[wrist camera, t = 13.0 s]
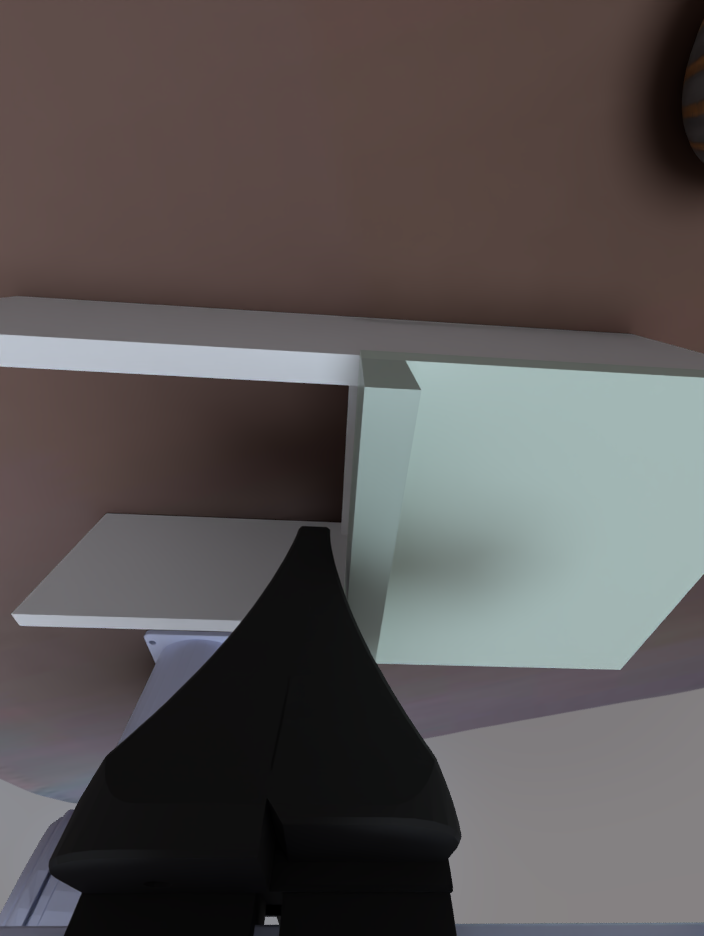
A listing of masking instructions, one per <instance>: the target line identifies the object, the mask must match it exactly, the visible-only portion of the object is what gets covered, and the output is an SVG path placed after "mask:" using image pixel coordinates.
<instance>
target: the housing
mask: <svg viewBox="0 0 704 936" xmlns="http://www.w3.org/2000/svg"><path fill="white" fill-rule="evenodd" d="M360 350H372V351H389V352H407V353H424V354H441V355H458V356H475V357H492V358H509V359H526V360H544V361H561V362H578V363H595V364H612V365H629V366H646V367H663V368H681V369H698V370H704V354H703V353H699V352H696V351H692V350H689V349H685V348H681V347H678V346H674V345H670V344H667V343H663V342H659V341H656V340H652V339H648V338H645V337H641V336H637V335H634V334H624V333H608V332H591V331H575V330H559V329H543V328H527V327H511V326H494V325H478V324H462V323H446V322H430V321H414V320H397V319H381V318H365V317H349V316H333V315H317V314H300V313H284V312H268V311H252V310H236V309H220V308H203V307H187V306H171V305H155V304H139V303H123V302H106V301H90V300H74V299H58V298H42V297H25V296H13V297H5V298H0V366H3V367H21V368H40V369H58V370H76V371H95V372H113V373H131V374H150V375H168V376H186V377H205V378H223V379H242V380H260V381H278V382H297V383H315V384H333V385H349V393H348V411H347V429H346V448H345V466H344V484H343V503H342V521H341V523H338V522H313V521H288V520H263V519H238V518H213V517H188V516H163V515H138V514H113V513H106V514H105V515H104V516H103V517H102V518H101V519H100V521H99V522H98V523H97V524H96V525H95V526H94V527H93V528H92V529H91V530H90V531H89V532H88V533H87V534H86V535H85V536H84V537H83V538H82V540H81V541H80V542H79V543H78V544H77V545H76V546H75V547H74V548H73V549H72V550H71V551H70V552H69V553H68V554H67V555H66V556H65V557H64V559H63V560H62V561H61V562H60V563H59V564H58V565H57V566H56V567H55V568H54V569H53V570H52V571H51V572H50V573H49V574H48V575H47V576H46V578H45V579H44V580H43V581H42V582H41V583H40V584H39V585H38V586H37V587H36V588H35V589H34V590H33V591H32V592H31V593H30V594H29V596H28V597H27V598H26V599H25V600H24V601H23V602H22V603H21V604H20V605H19V606H18V607H17V608H16V609H15V610H14V611H13V612H12V613H11V615H12V616H13V617H14V619H15V620H16V621H17V623H18V624H19V625H20V626H47V627H83V628H118V629H154V630H190V631H226V632H233V631H234V630H235V628H236V627H237V626H238V625H239V624H240V622H241V621H242V620H243V619H244V617H245V616H246V615H247V613H248V612H249V611H250V609H251V608H252V607H253V605H254V604H255V603H256V601H257V600H258V598H259V597H260V596H261V594H262V593H263V591H264V590H265V588H266V587H267V586H268V584H269V583H270V581H271V580H272V578H273V576H274V575H275V573H276V572H277V570H278V568H279V567H280V565H281V563H282V562H283V560H284V558H285V556H286V555H287V553H288V551H289V549H290V547H291V545H292V543H293V541H294V539H295V537H296V535H297V532H298V530H299V528H300V527H302V526H316V527H328V528H329V529H330V539H331V547H332V552H333V557H334V561H335V565H336V568H337V572H338V575H339V578H340V581H341V585H342V587H343V590H344V580H345V565H346V550H347V536H348V521H349V507H350V492H351V477H352V463H353V448H354V434H355V419H356V404H357V390H358V375H359V360H360Z"/></svg>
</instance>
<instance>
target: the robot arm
mask: <svg viewBox="0 0 704 936" xmlns="http://www.w3.org/2000/svg"><path fill="white" fill-rule="evenodd" d="M144 639H145V641H146V643H147V646H148V648H149V650H150V652H151V655H152V657H153V659H154V661H155V666H154V669H153V671H152V673H151V675H150V677H149V679H148V681H147V683H146V685H145V688H144V690H143V692H142V694H141V696H140V698H139V700H138V702H137V704H136V706H135V709H134V711H133V713H132V715H131V717H130V719H129V721H128V723H127V725H126V727H125V730H124V732H123V734H122V736H121V738H120V740H119V742H118V744H117V746H116V748H115V749H113V750H112V751H111V752H110V753H109V754H108V755H107V756H106V757H105V759H104V760H103V762H102V763H101V765H100V767H99V768H98V770H97V772H96V773H95V775H94V776H93V778H92V780H91V781H90V783H89V785H88V787H87V788H86V790H85V791H84V793H83V795H82V796H81V798H80V800H79V802H78V804H77V806H76V808H75V810H69V811H67V812H66V813H65V815H64V816H63V817H61V818H59V819H58V820H56V821H55V822H54V823H52V824H51V825H50V826H49V828H48V829H47V831H46V832H45V834H44V835H43V837H42V839H41V840H40V842H39V844H38V846H37V847H36V849H35V850H34V853H33V854H32V856H31V858H30V859H29V861H28V863H27V865H26V867H25V868H24V870H23V872H22V874H21V876H20V877H19V880H18V881H17V883H16V885H15V887H14V889H13V890H12V893H11V895H10V896H9V898H8V900H7V902H6V904H5V906H4V908H3V910H2V911H1V913H0V936H704V923H540V924H539V923H538V924H455V921H454V915H453V908H452V902H451V895H450V893H451V892H452V891H453V885H452V878H451V872H450V866H449V860H448V858H449V857H450V855H451V854H452V853H453V852H454V851H455V850H456V848H457V846H458V844H459V842H460V840H461V831H460V826H459V822H458V818H457V815H456V811H455V808H454V804H453V801H452V798H451V795H450V792H449V790H448V787H447V784H446V782H445V779H444V777H443V774H442V772H441V769H440V767H439V764H438V762H437V759H436V758H435V756H434V754H433V753H432V751H431V750H430V749H429V747H428V746H427V744H426V743H425V741H424V740H423V738H422V737H421V735H420V734H419V732H418V731H417V729H416V728H415V726H414V725H413V723H412V722H411V720H410V719H409V717H408V716H407V714H406V712H405V711H404V709H403V708H402V706H401V704H400V703H399V701H398V700H397V698H396V696H395V695H394V693H393V691H392V690H391V688H390V686H389V684H388V683H387V681H386V679H385V677H384V676H383V674H382V672H381V670H380V669H379V667H378V665H377V663H376V661H375V660H374V658H373V656H372V654H371V652H370V650H369V648H368V646H367V644H366V642H365V640H364V638H363V636H362V634H361V632H360V629H359V627H358V625H357V623H356V621H355V618H354V616H353V614H352V611H351V609H350V606H349V604H348V601H347V598H346V596H345V593H344V590H343V587H342V585H341V581H340V578H339V575H338V572H337V568H336V565H335V561H334V557H333V552H332V547H331V539H330V529H329V528H328V527H316V526H302V527H300V528H299V530H298V532H297V535H296V537H295V539H294V541H293V543H292V545H291V547H290V549H289V551H288V553H287V555H286V556H285V558H284V560H283V562H282V563H281V565H280V567H279V568H278V570H277V572H276V573H275V575H274V576H273V578H272V580H271V581H270V583H269V584H268V586H267V587H266V588H265V590H264V591H263V593H262V594H261V596H260V597H259V598H258V600H257V601H256V603H255V604H254V605H253V607H252V608H251V609H250V611H249V612H248V613H247V615H246V616H245V617H244V619H243V620H242V621H241V622H240V624H239V625H238V626H237V627H236V628H235V630H234V631H233V632H206V631H170V630H149V631H147V632H146V633H145V635H144ZM265 917H277V919H278V922H279V925H264V920H265Z"/></svg>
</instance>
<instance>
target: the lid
mask: <svg viewBox="0 0 704 936" xmlns="http://www.w3.org/2000/svg"><path fill="white" fill-rule="evenodd" d="M703 574H704V370H698V369H681V368H663V367H646V366H629V365H612V364H595V363H578V362H561V361H544V360H526V359H509V358H492V357H475V356H458V355H441V354H424V353H407V352H389V351H372V350H360V360H359V375H358V390H357V404H356V419H355V434H354V448H353V463H352V477H351V492H350V507H349V521H348V536H347V550H346V565H345V580H344V593H345V596H346V598H347V601H348V604H349V606H350V609H351V611H352V614H353V616H354V618H355V621H356V623H357V625H358V627H359V629H360V632H361V634H362V636H363V638H364V640H365V642H366V644H367V646H368V648H369V650H370V652H371V654H372V656H373V658H374V660H375V661H376V663H378V664H418V665H457V666H497V667H537V668H577V669H617V670H620V669H621V668H622V667H623V666H624V665H625V664H626V663H627V661H628V660H629V659H630V658H631V657H632V656H633V654H634V653H635V652H636V651H637V650H638V649H639V648H640V646H641V645H642V644H643V643H644V642H645V641H646V640H647V638H648V637H649V636H650V635H651V634H652V633H653V632H654V630H655V629H656V628H657V627H658V626H659V625H660V623H661V622H662V621H663V620H664V619H665V618H666V617H667V615H668V614H669V613H670V612H671V611H672V610H673V609H674V607H675V606H676V605H677V604H678V603H679V602H680V601H681V599H682V598H683V597H684V596H685V595H686V594H687V592H688V591H689V590H690V589H691V588H692V587H693V586H694V584H695V583H696V582H697V581H698V580H699V579H700V578H701V576H702V575H703Z"/></svg>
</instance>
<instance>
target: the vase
mask: <svg viewBox="0 0 704 936" xmlns="http://www.w3.org/2000/svg"><path fill="white" fill-rule="evenodd" d="M682 117H683V124H684V128H685V132H686V135H687V138H688V140H689V143H690V145H691V147H692V149H693V151H694V152H695V154H696V155H697V157H698V158H699V159H700V160H701V161H702V162H703V163H704V19H703V21H702V24H701V26H700V29H699V31H698V34H697V37H696V39H695V42H694V45H693V48H692V51H691V54H690V57H689V61H688V64H687V68H686V73H685V78H684V84H683V92H682Z"/></svg>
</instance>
